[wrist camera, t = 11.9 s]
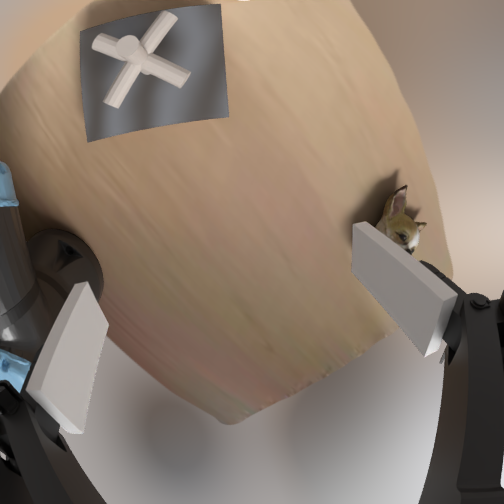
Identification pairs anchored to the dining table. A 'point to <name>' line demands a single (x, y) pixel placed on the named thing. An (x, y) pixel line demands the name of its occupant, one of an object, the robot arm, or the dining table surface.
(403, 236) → the ceramic sculpture
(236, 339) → the dining table surface
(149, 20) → the block
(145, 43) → the pipe connector
